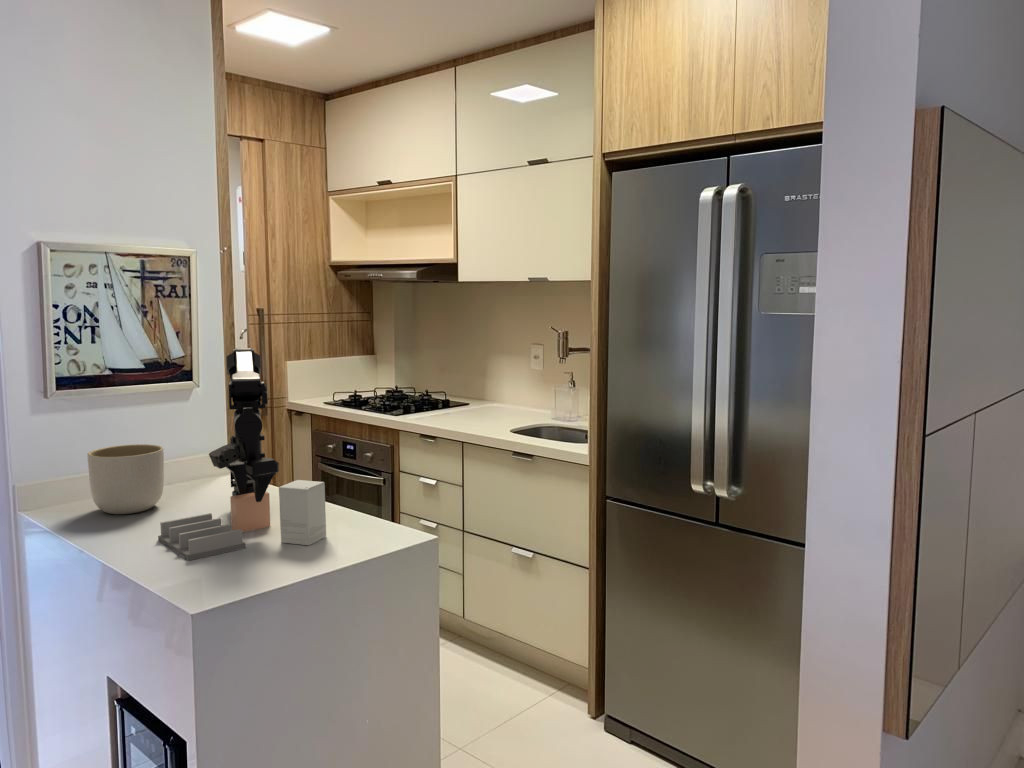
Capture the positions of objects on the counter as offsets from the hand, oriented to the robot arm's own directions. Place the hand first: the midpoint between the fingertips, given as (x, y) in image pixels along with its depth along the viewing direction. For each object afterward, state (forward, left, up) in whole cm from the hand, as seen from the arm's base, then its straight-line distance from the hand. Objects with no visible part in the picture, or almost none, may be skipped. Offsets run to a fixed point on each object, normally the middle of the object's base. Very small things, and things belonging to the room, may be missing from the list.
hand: (250, 497), depth 176 cm
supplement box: (-5, +16, -7) cm, 18 cm away
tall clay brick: (0, 0, -7) cm, 7 cm away
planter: (+16, -36, -7) cm, 40 cm away
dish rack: (+13, +4, -7) cm, 15 cm away
